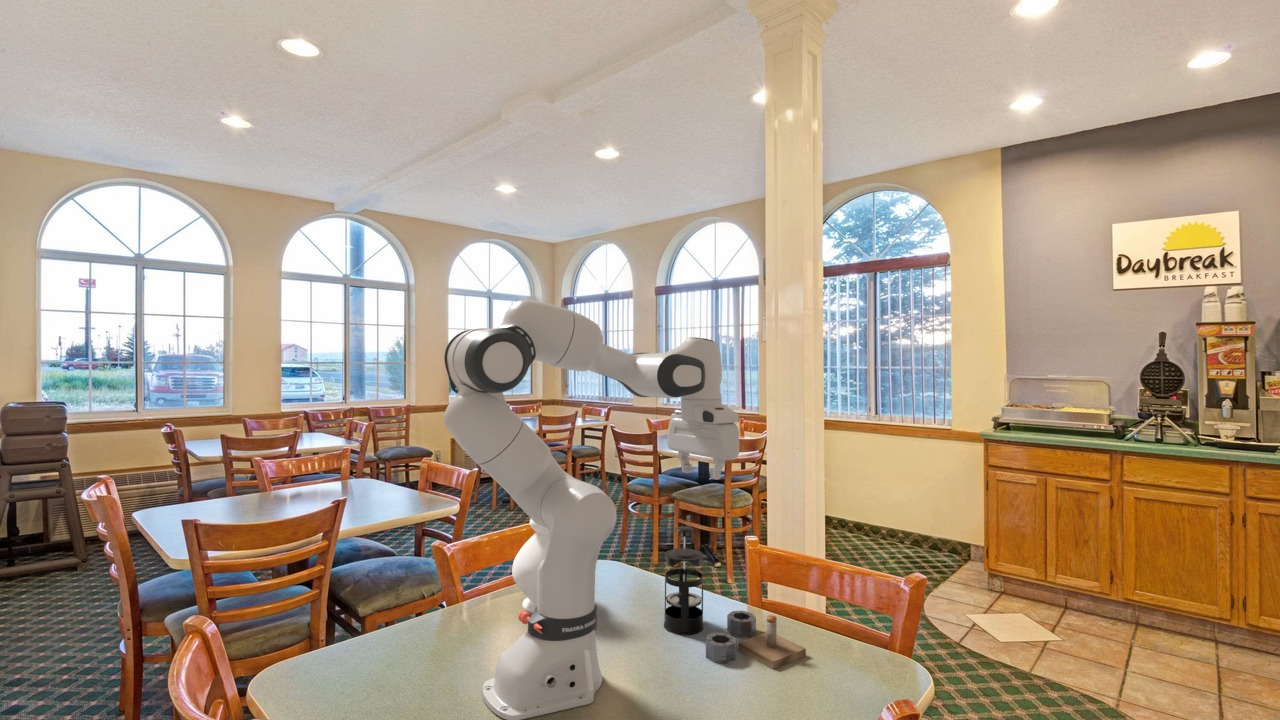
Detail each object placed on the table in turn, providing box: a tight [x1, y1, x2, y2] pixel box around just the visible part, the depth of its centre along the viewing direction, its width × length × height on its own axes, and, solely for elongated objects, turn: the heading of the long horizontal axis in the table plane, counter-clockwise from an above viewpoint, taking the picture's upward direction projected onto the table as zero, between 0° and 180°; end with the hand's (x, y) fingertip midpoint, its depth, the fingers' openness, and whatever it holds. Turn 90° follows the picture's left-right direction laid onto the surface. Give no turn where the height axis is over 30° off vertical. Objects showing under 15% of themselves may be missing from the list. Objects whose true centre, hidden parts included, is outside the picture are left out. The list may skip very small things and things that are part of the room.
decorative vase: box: [511, 518, 549, 614], centre depth 153 cm, size 18×18×25 cm
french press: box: [663, 526, 705, 636], centre depth 141 cm, size 12×9×23 cm
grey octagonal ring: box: [726, 610, 757, 638], centre depth 138 cm, size 6×6×4 cm
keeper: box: [737, 614, 807, 670], centre depth 128 cm, size 10×10×8 cm
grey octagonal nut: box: [705, 632, 736, 664], centre depth 126 cm, size 6×6×4 cm
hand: (700, 475), depth 131 cm, fingers open, 8 cm apart
